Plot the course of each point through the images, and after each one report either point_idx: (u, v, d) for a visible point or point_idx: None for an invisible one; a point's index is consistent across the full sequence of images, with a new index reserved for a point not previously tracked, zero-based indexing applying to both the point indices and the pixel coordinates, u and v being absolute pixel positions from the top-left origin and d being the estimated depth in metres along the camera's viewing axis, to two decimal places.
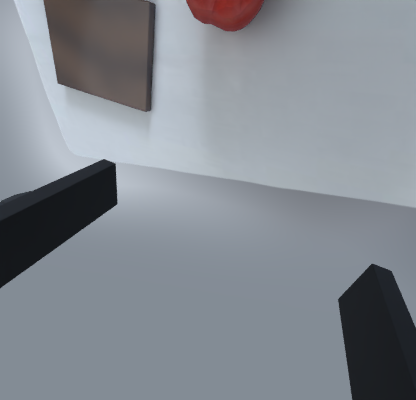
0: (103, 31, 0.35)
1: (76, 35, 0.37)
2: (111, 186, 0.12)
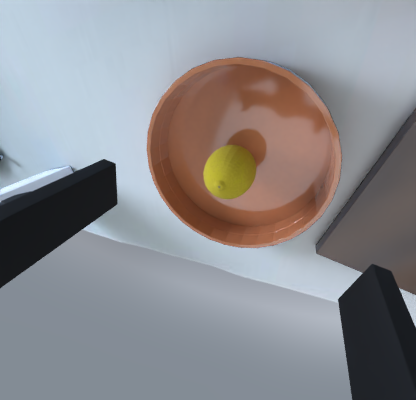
0: None
1: (401, 240, 0.24)
2: (111, 186, 0.12)
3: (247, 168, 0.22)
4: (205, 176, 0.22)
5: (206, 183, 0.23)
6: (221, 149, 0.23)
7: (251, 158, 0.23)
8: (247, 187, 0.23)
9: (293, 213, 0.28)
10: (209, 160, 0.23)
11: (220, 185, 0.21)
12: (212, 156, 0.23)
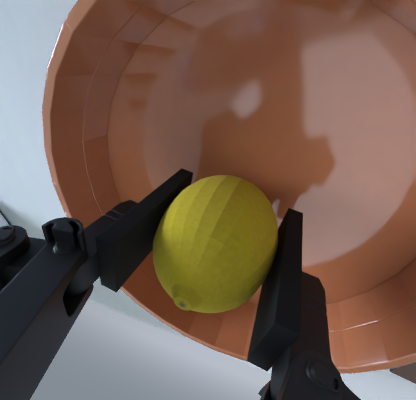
0: None
1: None
2: None
3: (260, 245, 0.08)
4: (153, 261, 0.09)
5: (157, 276, 0.09)
6: (193, 191, 0.09)
7: (267, 211, 0.09)
8: (259, 286, 0.09)
9: (345, 297, 0.15)
10: (163, 220, 0.09)
11: (185, 301, 0.07)
12: (171, 209, 0.09)
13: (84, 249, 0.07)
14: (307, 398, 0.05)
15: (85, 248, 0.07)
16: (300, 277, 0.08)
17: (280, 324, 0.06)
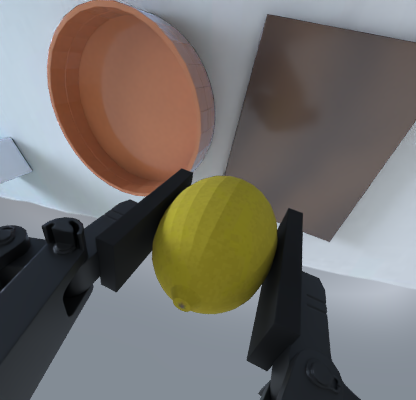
0: (284, 124, 0.23)
1: (279, 176, 0.26)
2: None
3: (259, 246, 0.08)
4: (153, 261, 0.09)
5: None
6: (193, 192, 0.09)
7: (267, 212, 0.09)
8: (258, 287, 0.09)
9: None
10: (163, 221, 0.09)
11: (185, 302, 0.07)
12: (170, 210, 0.09)
13: (84, 249, 0.07)
14: (307, 398, 0.05)
15: (85, 248, 0.07)
16: (300, 277, 0.08)
17: (280, 324, 0.06)
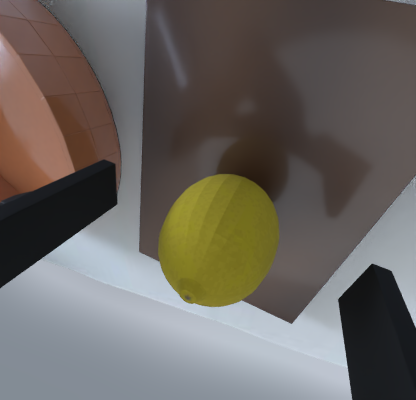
0: (207, 156, 0.14)
1: None
2: (111, 186, 0.12)
3: (262, 241, 0.08)
4: (159, 256, 0.09)
5: (163, 271, 0.10)
6: (198, 189, 0.10)
7: (269, 209, 0.10)
8: None
9: None
10: (169, 217, 0.09)
11: (191, 294, 0.08)
12: (176, 207, 0.10)
13: None
14: None
15: None
16: None
17: None
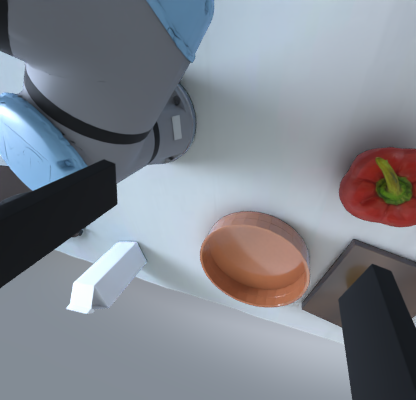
0: None
1: None
2: (111, 186, 0.12)
3: None
4: None
5: None
6: None
7: None
8: None
9: (287, 285, 0.47)
10: None
11: None
12: None
13: None
14: None
15: None
16: None
17: None
